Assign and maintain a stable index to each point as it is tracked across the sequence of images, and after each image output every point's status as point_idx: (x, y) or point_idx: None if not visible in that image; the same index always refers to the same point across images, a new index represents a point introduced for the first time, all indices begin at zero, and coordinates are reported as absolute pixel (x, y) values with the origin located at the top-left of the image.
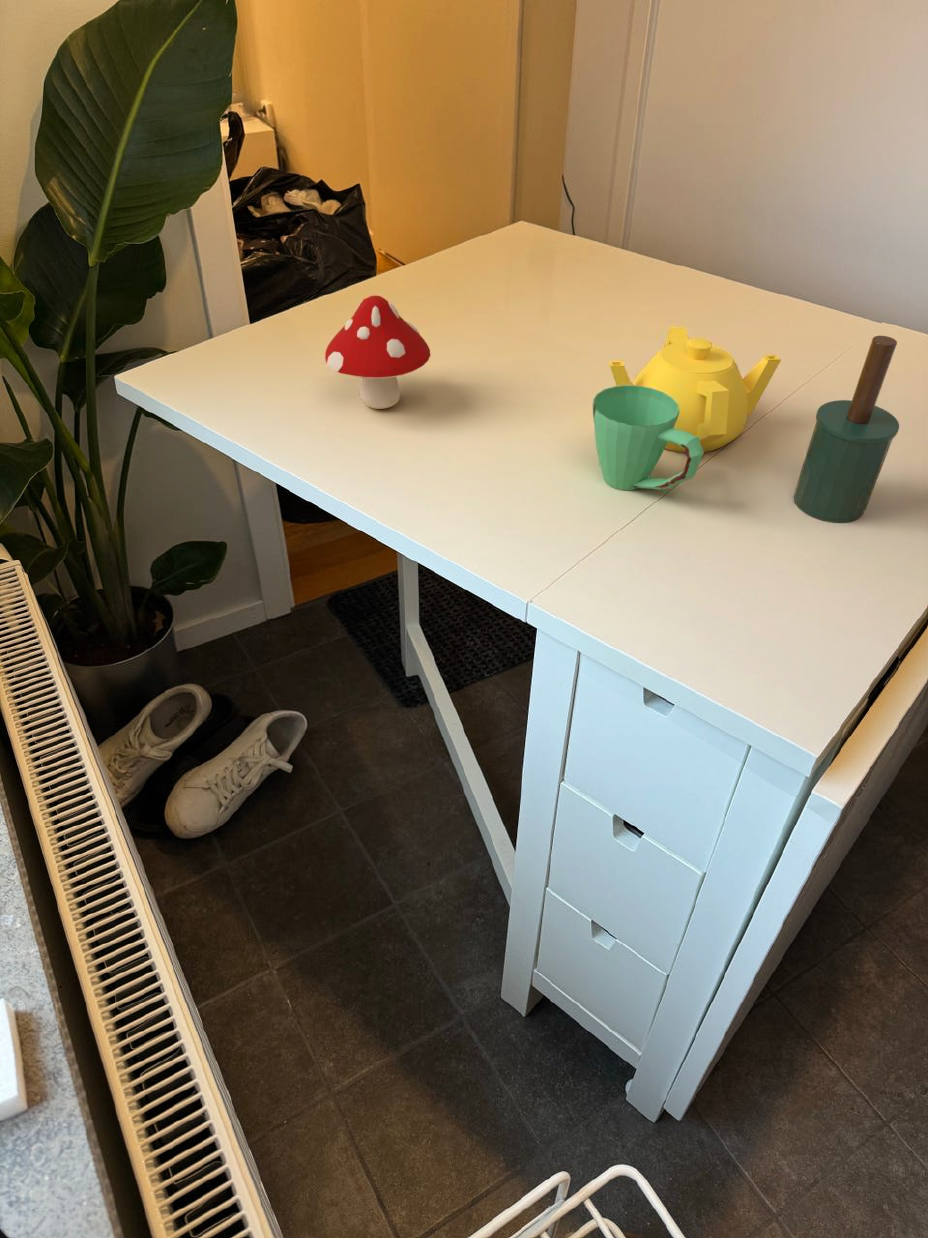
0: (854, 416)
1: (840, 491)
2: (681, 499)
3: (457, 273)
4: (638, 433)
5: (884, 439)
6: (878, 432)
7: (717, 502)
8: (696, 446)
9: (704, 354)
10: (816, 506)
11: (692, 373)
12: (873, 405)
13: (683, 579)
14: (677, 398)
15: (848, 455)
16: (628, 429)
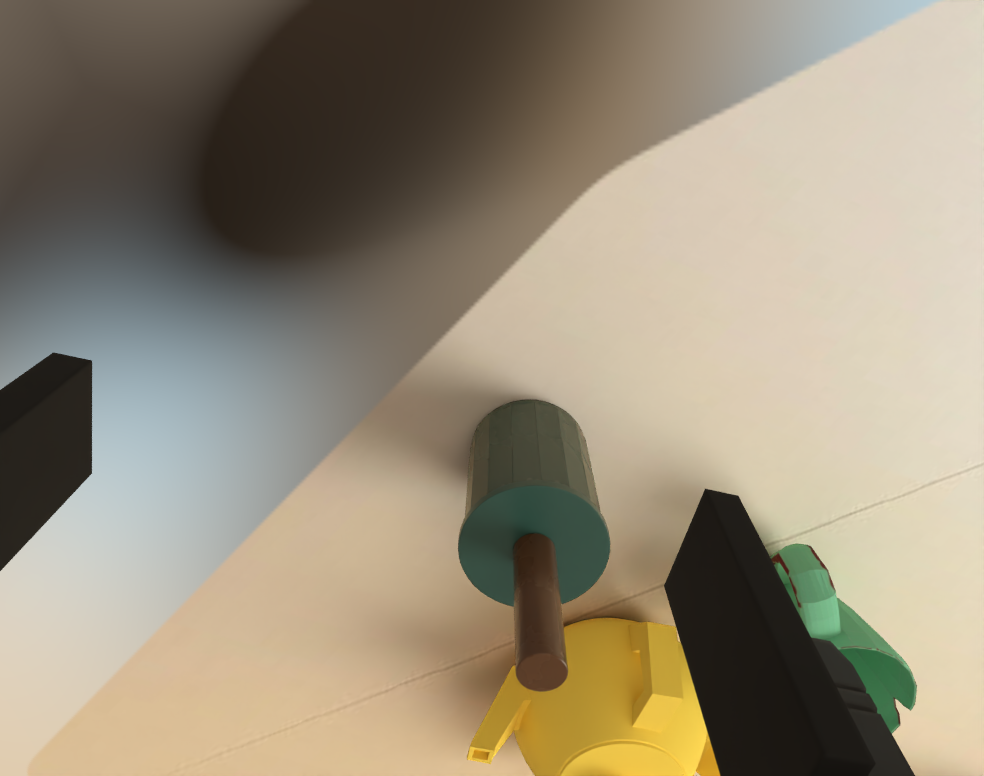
0: (554, 551)
1: (570, 440)
2: None
3: None
4: (879, 642)
5: (535, 483)
6: (534, 502)
7: (695, 509)
8: (814, 585)
9: None
10: (583, 440)
11: (665, 751)
12: (531, 556)
13: (892, 371)
14: (687, 712)
15: (583, 483)
16: (896, 653)
